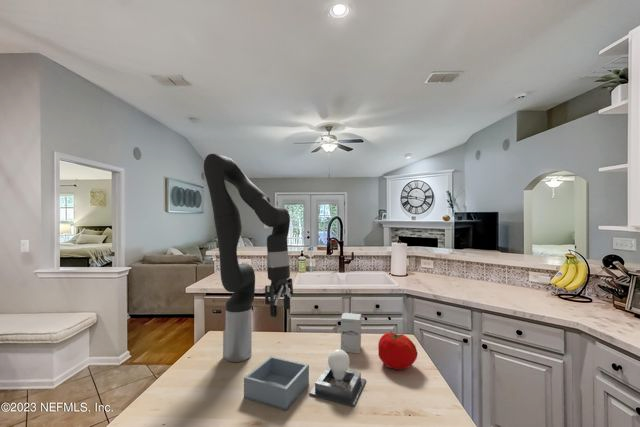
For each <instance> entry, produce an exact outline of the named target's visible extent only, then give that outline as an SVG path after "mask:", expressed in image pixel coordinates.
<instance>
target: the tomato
mask: <svg viewBox="0 0 640 427" xmlns="http://www.w3.org/2000/svg"><path fill="white" fill-rule="evenodd" d="M389 331H390V332H387V333H384V334H383V335H382V336H381V337H380V338H379V340H378V342H377V343H378V346H377V347H378V348H377V349H378V353H377V354H378V355H377V356H378V357H379V359H380V361H381V362H382V363H383V365H385V366H386V367H388V368H389V369H394V370H397V371H400V370H404V369H405V370H406V369H408V368H410V367H411V366H412V365H413V364H414V363H415V362H416V360H417V357H418V349H417V347H416V345H415V344H414V342H413V341H412V340H411V339H410V338H409V337H408V336H407V335H405V334H404V333H402V334H397V333H396V332H393V331H391V330H389Z"/></svg>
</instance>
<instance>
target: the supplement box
mask: <svg viewBox="0 0 640 427" xmlns="http://www.w3.org/2000/svg"><path fill="white" fill-rule="evenodd" d="M361 346H362V314H361V313H350V312H343V313H342V315H341V318H340V349H341V350H344V351H345V352H346V353H351V354H360V352H361Z"/></svg>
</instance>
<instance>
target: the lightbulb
mask: <svg viewBox="0 0 640 427" xmlns="http://www.w3.org/2000/svg"><path fill="white" fill-rule="evenodd" d="M327 365H328V366H329V367H330V369H331V370H332V372H333V376H334V379H333V382H334V383H333V384H335V385H339V386H343V387H344V381H343V378H344V375H345V372H346V370H349V369H348V368H349V367H350V356H349V354H348V352H345V351H344V350H341V348H340V349H339V348H336V349H333V350H332V351H331V352H330V353H329V355H328V358H327Z"/></svg>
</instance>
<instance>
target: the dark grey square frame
mask: <svg viewBox="0 0 640 427" xmlns="http://www.w3.org/2000/svg"><path fill="white" fill-rule="evenodd" d="M331 379H333V380H334V376H333V372H332V370H331V369H330V367H329V365H328V366H327V367H326V368H325V369H324V371H323V372H322V373H321V375H320V376H319V377H318V379H316V381H315V383H314V386H313V387H312V389H311V390H310V392H309V393H308V394H309V396H311V397H315V398H319V399H323V400H327V401H330V402H333V403H338V404H341V405H346V406H349V407H353V408H354V407H355V406H356V404H357V401H358V399H359V396H360V395H361V393H362V390H363V388H364V386H365V384H366V382H367V379H366V378H362V372H361V371H357V370H356V371H355V370H351V369H347V370H346V372H345V375H344V378H343V383H349V384H348V385H347V386H344V385H343V386H339V385H335V384H334V383H330V381H331Z"/></svg>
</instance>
